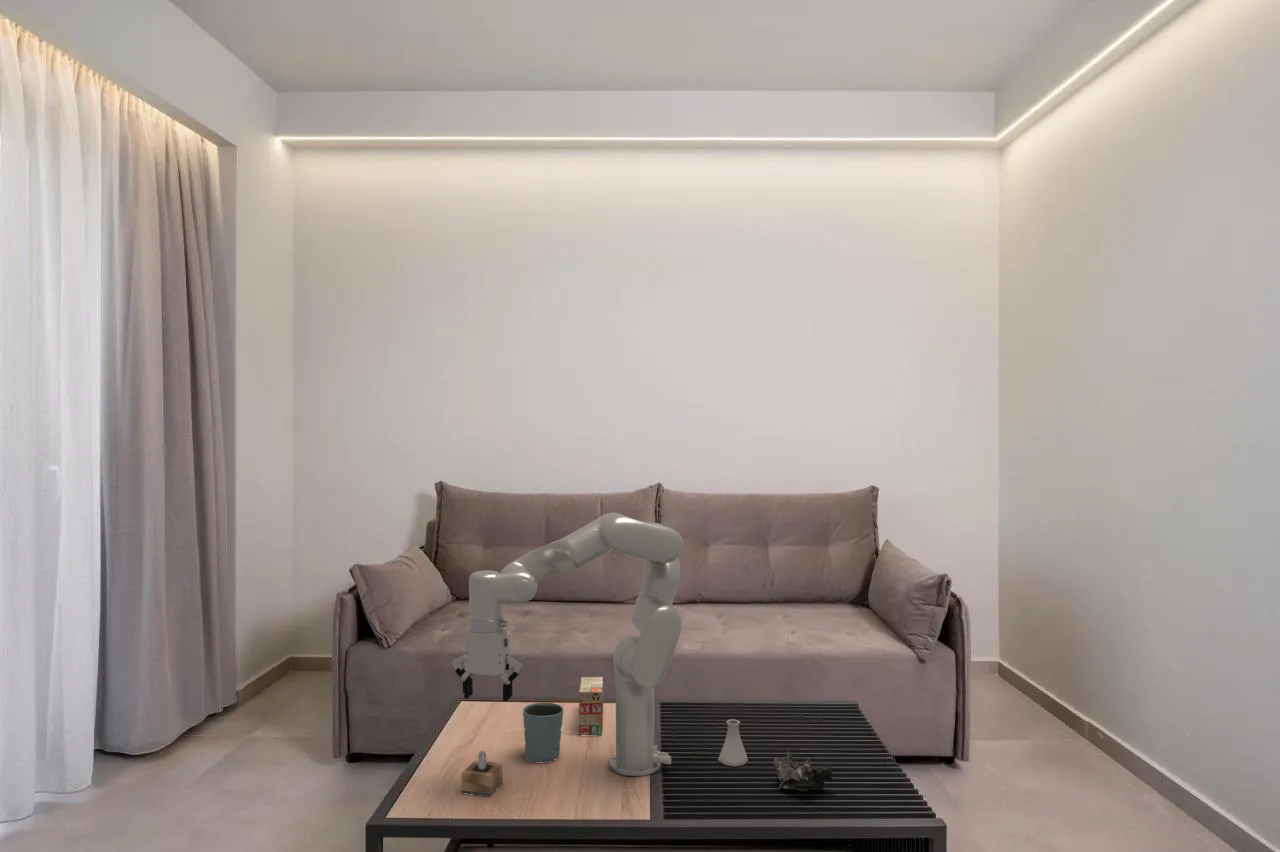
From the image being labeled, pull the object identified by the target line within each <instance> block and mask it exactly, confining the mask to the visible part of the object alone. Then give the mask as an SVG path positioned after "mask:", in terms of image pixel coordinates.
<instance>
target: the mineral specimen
mask: <svg viewBox="0 0 1280 852" xmlns="http://www.w3.org/2000/svg"><path fill="white" fill-rule="evenodd" d="M773 766H774V767H775V772H776V775H777V777H778V780H779V781H780V783H779V786H778V788H779V789H781V788H783V789H785V790H788V789H789V790H796V791H799V792H805V791H806V792H808V791H809V790H819V789H821V790H822V789H823V788H825V787H826V785H827V784H826V783H824V782H831V781H833V780H834V775H833V771H832V770H833V769H832V768H831V767H830V766H826V767H824V768H822V769H820V770H819V769H818V768H816V767H812V763H811V759H805V760H804V762H802V763H801V764H800V762H798V760H795V761H794V758H793V756H792V753H791V752H790V751H787V753H786V756H785V758H784V757H779V756H776V757H775V758H774V760H773Z"/></svg>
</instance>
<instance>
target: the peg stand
mask: <svg viewBox="0 0 1280 852" xmlns="http://www.w3.org/2000/svg"><path fill="white" fill-rule="evenodd" d="M477 756H478V757H477V761H478V772H486V762H487V753H486V751H484V750H481V751H479V752H478V755H477ZM501 784H502V785H503V781H502V782H501V783H500V784H499V785H498V786H497V787H496V788H495V789H494V790H493V791H492V792H491V793H490V794H489V793H481V792H472V791H464V790H462V789H461V794H462V793H467V794H466V795H469V794H473V795H472V796H477V795H482V796H481V797H485V796H488V797H487V798H490V797H492V795H494V793H496V791H497V790H498V789H499V788H500V787H501V786H502V785H501ZM500 785H501V786H500ZM499 786H500V787H499ZM498 787H499V788H498ZM497 788H498V789H497ZM496 789H497V790H496Z"/></svg>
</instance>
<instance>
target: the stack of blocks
mask: <svg viewBox="0 0 1280 852" xmlns="http://www.w3.org/2000/svg"><path fill="white" fill-rule="evenodd" d="M578 693H579V695H578V697H579V698H578V699H579V700H578V701H579V702H578V705H579V707H578V708H579V709H578V712H579V715H578V716H579V717H578V718H579V720H578V721H579V724H578V736H579V735H598V737H602V735H603V725H604V718H603V717H604V679H603V676H589V677H588V676H583V677H580V686H579V692H578Z"/></svg>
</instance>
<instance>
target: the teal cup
mask: <svg viewBox="0 0 1280 852" xmlns="http://www.w3.org/2000/svg"><path fill="white" fill-rule="evenodd" d="M563 707H564V706H561V704H557V703H554V702H537V703H535V702H534V703H531V704H528V705H526V706H525V707H523V709H522V715H523V727H524V733H523V734H524V735H523V736H524V741H525V744H524V753H525V759H526V758H527V759H528V760H529V762H531V761H532V762H531V763H534V762H539V763H538V764H541V763H540V762H547V763H550V762H549V761H551V762H554V761H555V760H554V759H556V760H558V758H559V757H560V750H561V739H562V738H561V737H562V730H561V729H562V727H563V720H564V719H563V718H564V717H563V716H564V708H563ZM527 759H526V760H527ZM528 760H527V761H528ZM553 760H554V761H553Z"/></svg>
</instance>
